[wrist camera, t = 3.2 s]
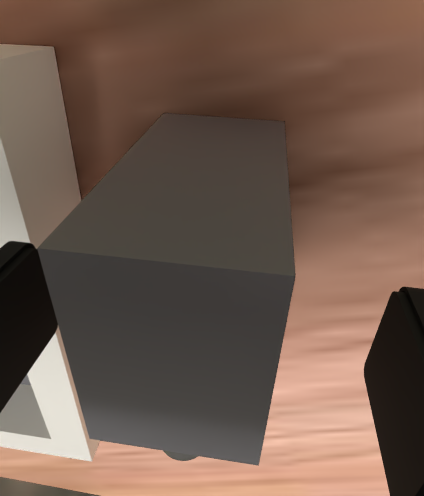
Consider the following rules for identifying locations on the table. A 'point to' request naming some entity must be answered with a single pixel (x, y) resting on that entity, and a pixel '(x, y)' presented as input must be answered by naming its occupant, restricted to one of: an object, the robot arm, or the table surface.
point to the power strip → (38, 240)
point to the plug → (179, 288)
